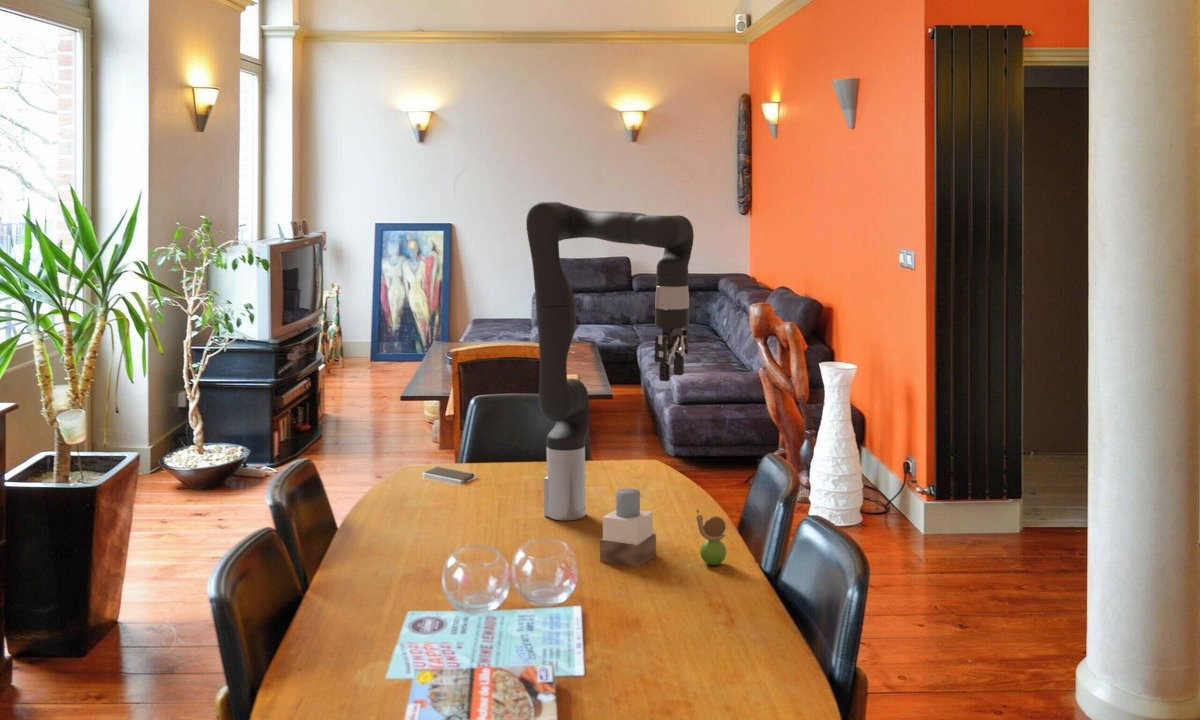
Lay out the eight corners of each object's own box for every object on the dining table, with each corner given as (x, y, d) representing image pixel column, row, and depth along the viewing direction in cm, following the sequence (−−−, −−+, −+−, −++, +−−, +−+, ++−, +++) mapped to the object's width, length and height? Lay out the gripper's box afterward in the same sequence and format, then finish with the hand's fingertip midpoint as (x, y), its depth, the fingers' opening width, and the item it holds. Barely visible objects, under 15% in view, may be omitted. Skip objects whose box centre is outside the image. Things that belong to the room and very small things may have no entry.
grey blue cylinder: (612, 516, 225) (612, 493, 224) (621, 510, 230) (621, 487, 229) (634, 519, 223) (634, 495, 222) (643, 512, 228) (643, 489, 227)
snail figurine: (693, 560, 226) (694, 505, 224) (723, 559, 227) (724, 505, 225) (697, 569, 221) (698, 513, 219) (728, 568, 221) (729, 512, 220)
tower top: (602, 540, 225) (602, 517, 225) (619, 529, 232) (618, 507, 232) (637, 545, 222) (637, 521, 221) (652, 534, 229) (652, 511, 228)
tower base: (599, 562, 226) (599, 539, 225) (618, 550, 234) (618, 528, 233) (638, 568, 222) (638, 545, 221) (656, 556, 230) (656, 533, 229)
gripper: (668, 302, 245) (668, 372, 247) (644, 308, 232) (643, 381, 235) (699, 303, 242) (698, 374, 244) (676, 309, 229) (675, 384, 232)
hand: (671, 377), depth 239 cm, fingers open, 8 cm apart
